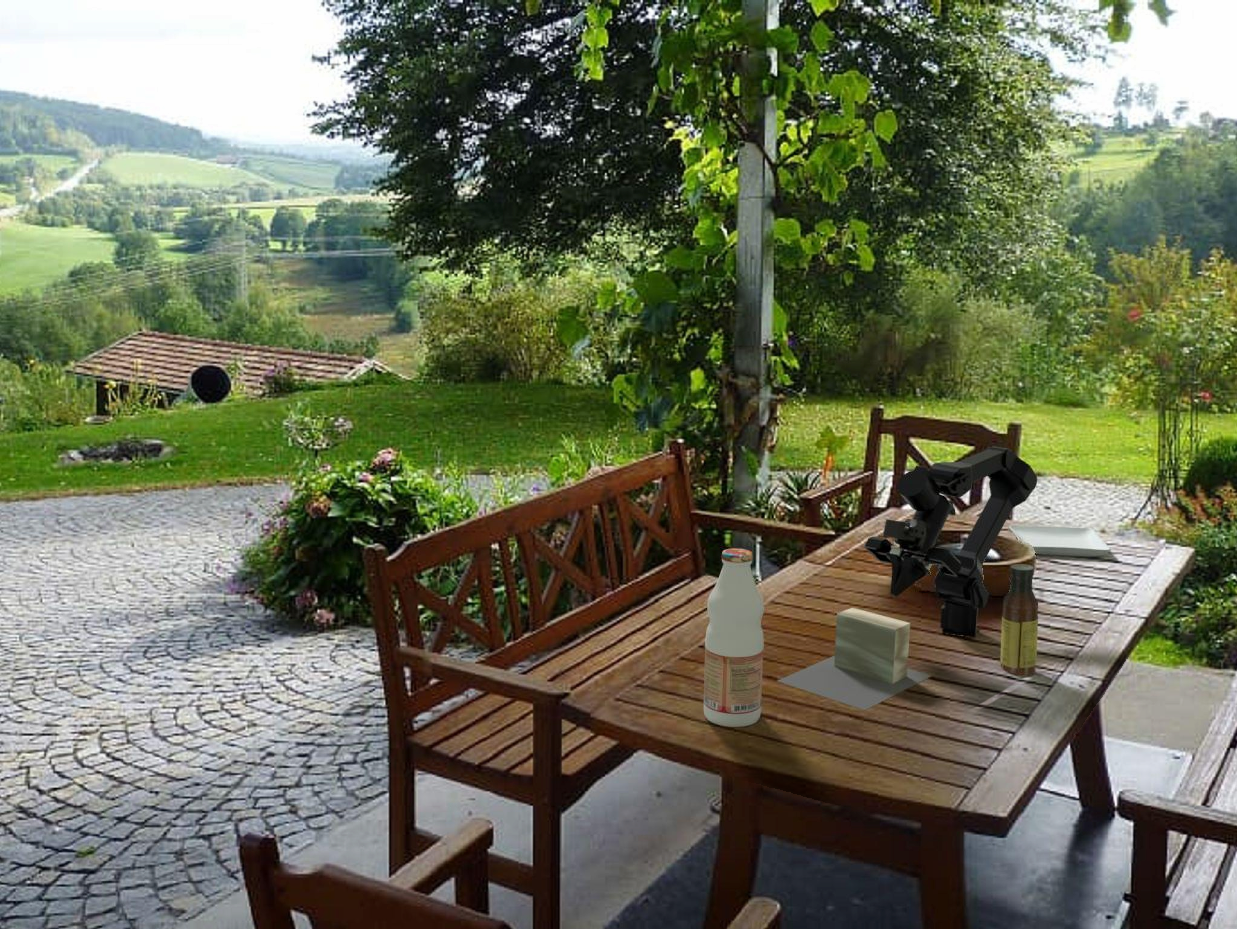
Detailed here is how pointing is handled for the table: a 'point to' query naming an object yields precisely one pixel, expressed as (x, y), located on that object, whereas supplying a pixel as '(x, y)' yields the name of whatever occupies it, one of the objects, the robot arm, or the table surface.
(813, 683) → the rubber mat
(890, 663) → the birch block
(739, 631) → the white milk bottle
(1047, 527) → the salad plate
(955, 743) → the table surface
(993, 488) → the robot arm
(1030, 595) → the sauce bottle
